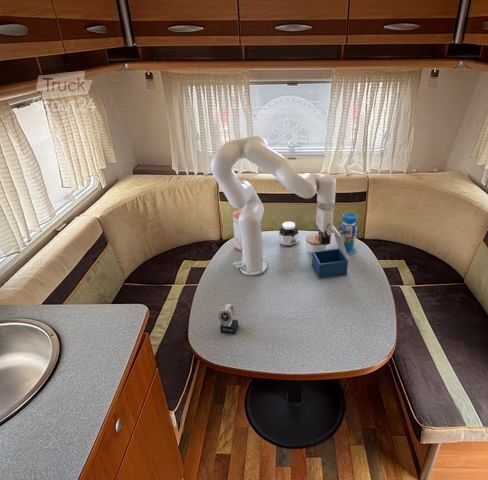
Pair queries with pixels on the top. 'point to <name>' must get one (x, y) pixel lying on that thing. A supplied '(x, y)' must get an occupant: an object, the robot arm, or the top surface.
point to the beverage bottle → (349, 232)
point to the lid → (340, 240)
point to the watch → (228, 320)
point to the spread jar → (288, 234)
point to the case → (329, 263)
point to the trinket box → (314, 243)
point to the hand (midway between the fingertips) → (324, 241)
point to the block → (320, 236)
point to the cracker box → (237, 229)
